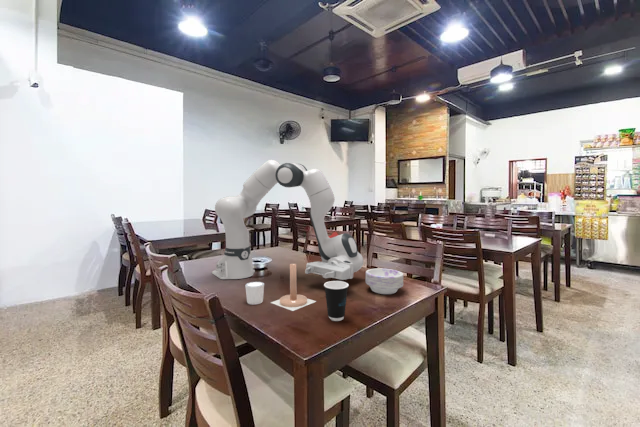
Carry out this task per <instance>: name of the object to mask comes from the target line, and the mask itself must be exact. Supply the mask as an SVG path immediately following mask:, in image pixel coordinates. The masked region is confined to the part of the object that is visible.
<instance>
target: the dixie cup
mask: <svg viewBox="0 0 640 427" xmlns="http://www.w3.org/2000/svg"><path fill="white" fill-rule="evenodd" d="M349 286H350V285H349V283H348V282H346V281H343V280H331V281H330V280H329V281H326V282H324V284H323V287H324V292H325V301H326V311H327V316H328V318H329V319H330V321H332V322H340V321H342V320H344V318H345V314H346V307H347V306H346V304H347V296H348V288H349Z"/></svg>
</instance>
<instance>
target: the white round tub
mask: <svg viewBox="0 0 640 427" xmlns="http://www.w3.org/2000/svg"><path fill="white" fill-rule="evenodd" d="M244 287H245V293H246V294H245V295H246V303H247V305H251V306H253V305H259V304H261V303H263V302H264V293H265V292H264V290H265V283H264V282H262V281H251V282H250V281H249V282H247V283H245V285H244Z"/></svg>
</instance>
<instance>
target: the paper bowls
mask: <svg viewBox="0 0 640 427" xmlns="http://www.w3.org/2000/svg"><path fill="white" fill-rule="evenodd" d="M365 284H366V285H367V286H369V287H370V290H371V291H372V292H374V293H376V294H379V295H380V294H381V295H393V294H395V293H397V292H398V290H399V289H401V288H403V286H404V273H403V272H402V271H400V270H396V269H391V268H385V267H384V268H380V267H378V268H377V267H376V268H369V269H367V270H366V271H365Z"/></svg>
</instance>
